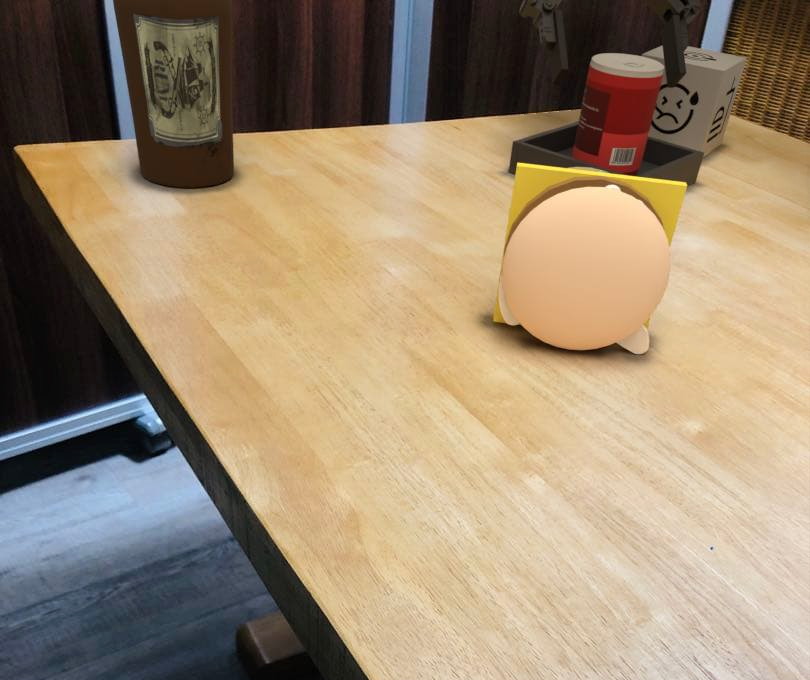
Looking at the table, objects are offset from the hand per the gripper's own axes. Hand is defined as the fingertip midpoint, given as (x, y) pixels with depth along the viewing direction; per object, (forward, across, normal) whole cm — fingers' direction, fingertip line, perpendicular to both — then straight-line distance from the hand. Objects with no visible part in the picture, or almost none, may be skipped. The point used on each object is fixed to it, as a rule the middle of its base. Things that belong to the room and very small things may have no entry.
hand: (619, 79), depth 93 cm
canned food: (+7, 0, -6) cm, 9 cm away
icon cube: (-1, -15, -15) cm, 21 cm away
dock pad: (+8, 0, -6) cm, 10 cm away
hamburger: (+34, +18, +20) cm, 43 cm away
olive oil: (+8, +46, -7) cm, 47 cm away
